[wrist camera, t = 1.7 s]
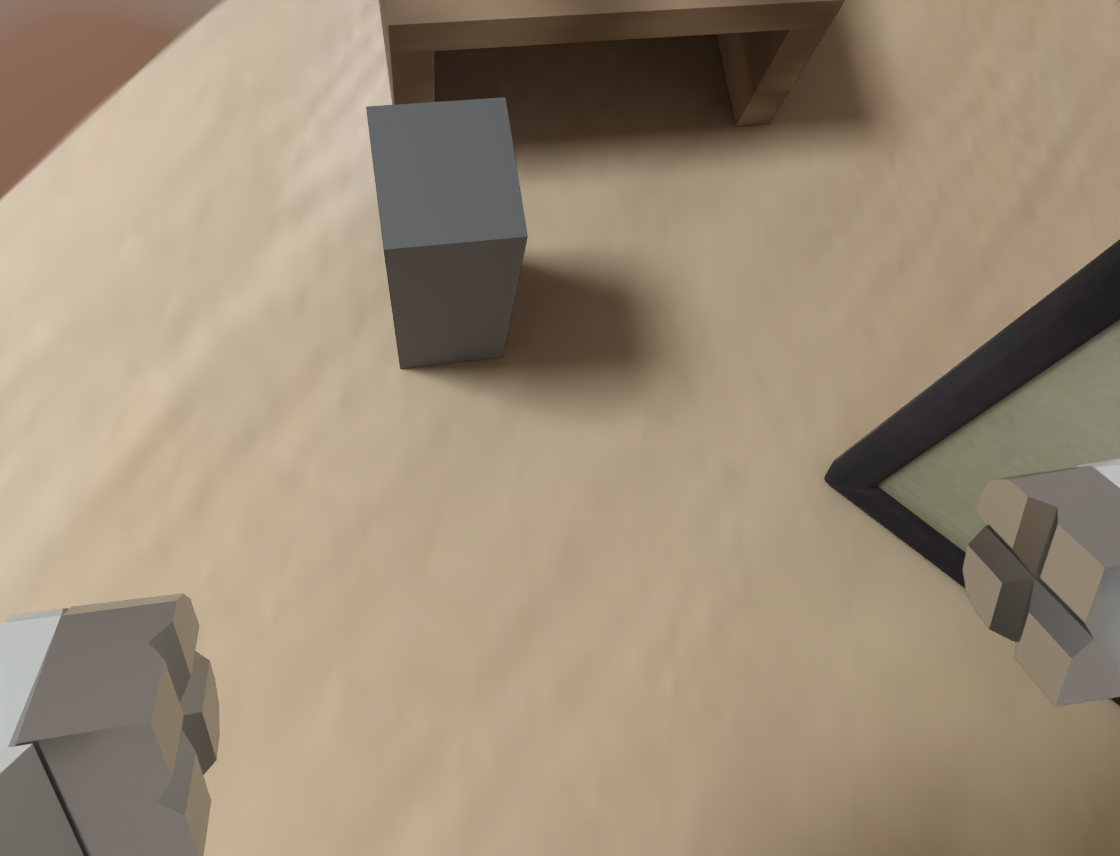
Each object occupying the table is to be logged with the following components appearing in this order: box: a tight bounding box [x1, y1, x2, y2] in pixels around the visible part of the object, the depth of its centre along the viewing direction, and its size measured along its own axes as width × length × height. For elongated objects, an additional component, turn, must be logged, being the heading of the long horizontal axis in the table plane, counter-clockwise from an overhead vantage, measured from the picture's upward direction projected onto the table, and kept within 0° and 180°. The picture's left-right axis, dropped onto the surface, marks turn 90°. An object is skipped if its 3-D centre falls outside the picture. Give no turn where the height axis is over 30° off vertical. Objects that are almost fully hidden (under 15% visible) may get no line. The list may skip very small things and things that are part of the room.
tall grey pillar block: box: [366, 97, 528, 369], centre depth 32 cm, size 4×5×11 cm
